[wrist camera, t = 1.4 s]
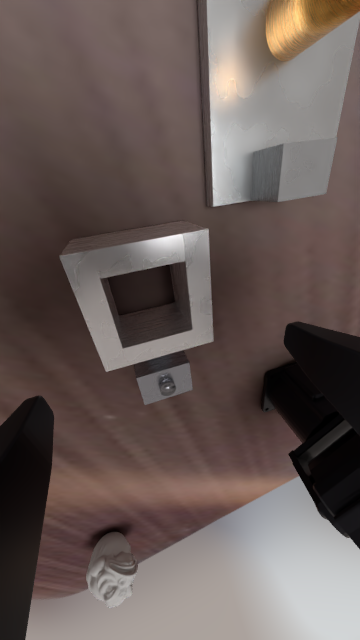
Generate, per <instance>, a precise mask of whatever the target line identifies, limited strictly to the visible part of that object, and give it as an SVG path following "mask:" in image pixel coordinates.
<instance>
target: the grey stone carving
mask: <svg viewBox="0 0 360 640" xmlns="http://www.w3.org/2000/svg"><path fill="white" fill-rule="evenodd" d="M137 568H138V564H137V561H136V558H135V557H134V555H133V554H130V544H128V542H127V539H126V538H125V537H124V535H122V534H121V533H119V532H110V533H107V534H106V535H104V536H103V537H102V538H101V539H100V540H99V541H98V543H97V544H96V546H95V548H94V551H93V553H92V557H91V561H90V563H89V567H88V571H87V575H86V579H87V582H88V587H89V590H90V591H91V592H92V594H93V595H94V597H96V598H97V599H99V600H101V601H103V602H105V605H106V606H108V607H110V608H112V607H114V606H115V607H117V606H119V605H120V604H121V603H122V601H123V600H124V599H125V598H128V597H130V596H131V595H132V583H133V581H134V577H135V575H136V573H137Z"/></svg>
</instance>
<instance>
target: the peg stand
mask: <svg viewBox="0 0 360 640" xmlns="http://www.w3.org/2000/svg"><path fill="white" fill-rule="evenodd" d="M197 3H198V25H199V47H200V68H201V90H202V112H203V134H204V155H205V177H206V199H207V206H212V207H215V206H221V205H227V204H233V203H239V202H245V201H269V202H281V201H287V200H293V199H298V198H304V197H310V196H316V195H322V194H326V191H327V186H328V181H329V176H330V171H331V166H332V162H333V157H334V152H335V147H336V142H337V137H336V135H337V130H338V125H339V120H340V115H341V110H342V105H343V100H344V95H345V90H346V85H347V80H348V75H349V70H350V66H351V61H352V56H353V51H354V46H355V41H356V36H357V31H358V26H359V21H360V0H197Z"/></svg>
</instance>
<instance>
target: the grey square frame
mask: <svg viewBox="0 0 360 640" xmlns="http://www.w3.org/2000/svg"><path fill="white" fill-rule="evenodd" d="M59 257H60V260H61V262H62V265H63V267H64V270H65V272H66V275H67V277H68V279H69V282H70V284H71V287H72V289H73V292H74V294H75V297H76V299H77V302H78V304H79V307H80V309H81V311H82V314H83V316H84V319H85V321H86V324H87V326H88V329H89V331H90V334H91V336H92V339H93V341H94V343H95V346H96V348H97V351H98V353H99V356H100V358H101V361H102V363H103V366H104V368H105V371H106V372H108V371H111V370H115V369H118V368H122V367H125V366H129V365H132V364H136V363H139V362H143V361H146V360H150V359H153V358H157V357H160V356H164V355H167V354H171V353H174V352H178V351H181V350H185V349H188V348H192V347H195V346H199V345H202V344H206V343H209V342H213V318H212V296H211V273H210V251H209V229H207V228H204V227H201V226H199V225H196V224H193V223H190V222H187V221H184V220H182V221H177V222H171V223H165V224H159V225H153V226H147V227H141V228H136V229H130V230H124V231H118V232H112V233H106V234H100V235H95V236H89V237H83V238H77V239H71V240H70V242H69V243H68V244H67V246H66V247H65V249H64V250H63V252H62V253H61V254H60V256H59ZM169 264H170V271H171V278H172V285H173V292H174V299H175V302H174V303H170V304H166V305H162V306H158V307H154V308H149V309H145V310H141V311H137V312H133V313H129V314H125V315H120V316H119V315H118V311H117V308H116V305H115V302H114V298H113V295H112V292H111V289H110V285H109V282H108V279H107V277H111V276H116V275H121V274H125V273H130V272H135V271H140V270H145V269H149V268H154V267H159V266H164V265H169Z"/></svg>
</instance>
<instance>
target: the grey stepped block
mask: <svg viewBox="0 0 360 640" xmlns="http://www.w3.org/2000/svg"><path fill="white" fill-rule="evenodd" d="M134 367H135V373H136V379H137V382H138V385H139V388H140V391H141V395H142V398H143V401H144V404H145V405H147V404H150V403H153V402H156V401H159V400H162V399H165V398H168V397H172V396H175V395H178V394H181V393H184V392H187V391H190V390H193V388H192V380H191V372H190V364H189V361H188V359H187V357H186V355H185V353H184V351H183V350H181V351H178V352H174V353H171V354H167V355H164V356H160V357H157V358H153V359H150V360H146V361H143V362H139V363H136V364H134Z"/></svg>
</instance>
